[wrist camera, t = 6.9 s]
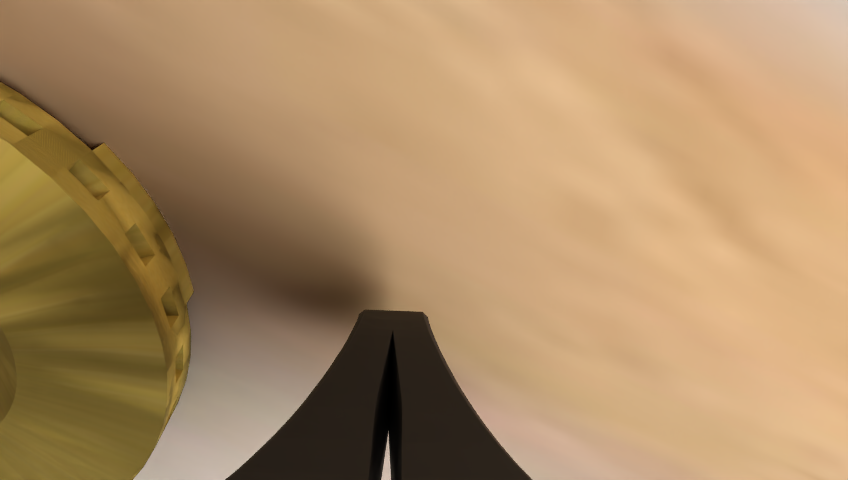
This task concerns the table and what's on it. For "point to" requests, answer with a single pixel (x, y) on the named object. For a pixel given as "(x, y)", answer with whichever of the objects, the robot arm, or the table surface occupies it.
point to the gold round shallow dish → (82, 306)
